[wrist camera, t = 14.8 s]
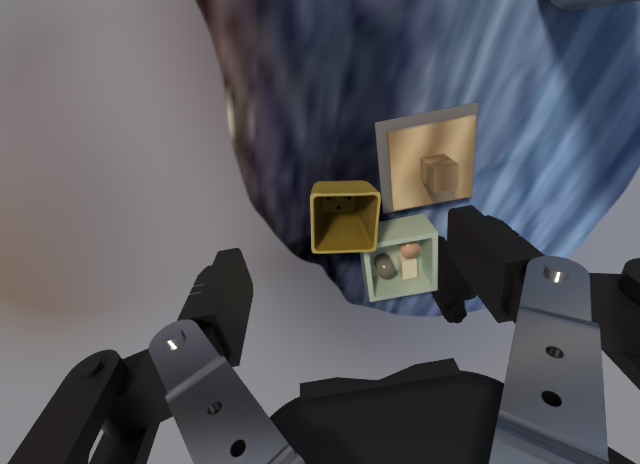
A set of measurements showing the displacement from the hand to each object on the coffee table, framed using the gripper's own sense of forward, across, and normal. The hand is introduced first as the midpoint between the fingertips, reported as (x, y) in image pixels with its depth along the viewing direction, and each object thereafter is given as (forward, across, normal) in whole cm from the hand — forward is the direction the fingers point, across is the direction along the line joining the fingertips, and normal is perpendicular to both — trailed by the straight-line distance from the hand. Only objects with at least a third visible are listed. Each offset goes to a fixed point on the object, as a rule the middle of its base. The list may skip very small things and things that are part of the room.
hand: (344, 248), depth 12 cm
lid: (+33, -15, +10) cm, 37 cm away
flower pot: (+34, -1, +13) cm, 37 cm away
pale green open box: (+34, -9, +24) cm, 43 cm away
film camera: (+34, -20, +30) cm, 50 cm away
